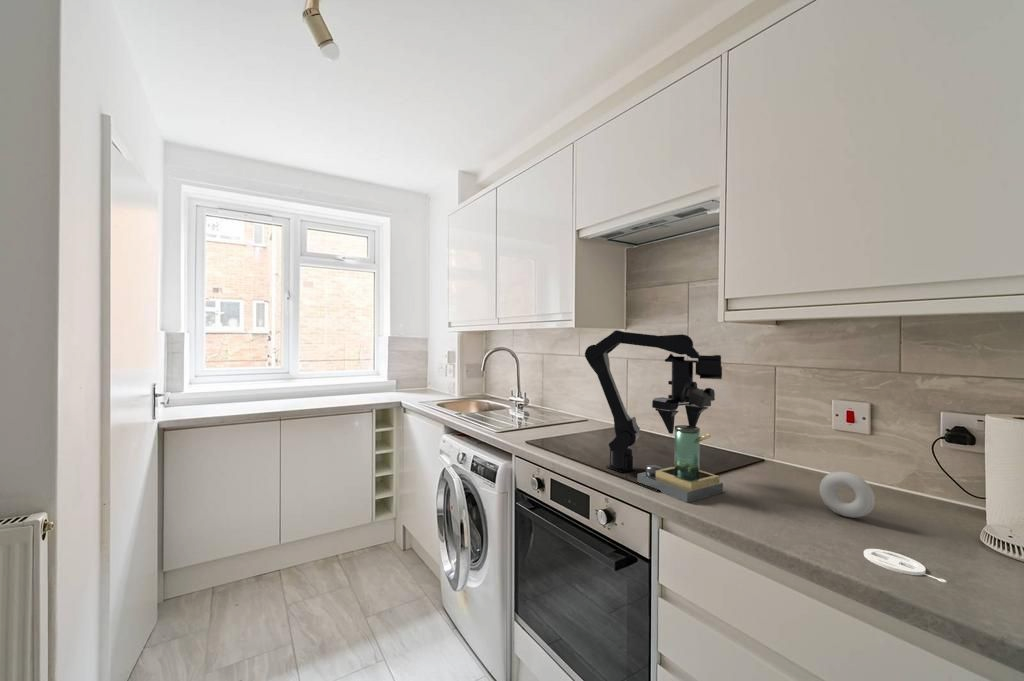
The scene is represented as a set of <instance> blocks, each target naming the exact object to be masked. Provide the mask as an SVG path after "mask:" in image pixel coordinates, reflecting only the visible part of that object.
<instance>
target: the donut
mask: <svg viewBox="0 0 1024 681" xmlns="http://www.w3.org/2000/svg"><path fill="white" fill-rule="evenodd" d="M819 483H820V484H819V488H818V489H819V494H820V498H821V499H822V501H823V503H824V505H826V506H827V508H828V509H830V510H831V511H833V513H836V514H838V515H840V516H842V517H845V518H853V519H855V518H863V517H864V516H867V515H868V514H870V513H871V511H872V510H873V509H874V507H875V502H876V499H875V498H876V497H875V493H874V491H873V489H872V488H871V486H870V485H869V484H868V483H867V482H866V480H864V479H863V478H862V477H860V476H859V475H857V474H855V473H852V472H848V471H840V470H839V471H838V470H837V471H832V472H829V473H828V474H826V475H825V476H824V477H823V478H822V480H821V481H820V482H819ZM840 488H848V489H849V490H851V491H852V492H853V493H854V496H855V497H854V499H853V500H852V501H846V500H844V499H842V498H841V497H840V495H839V493H838V490H839V489H840Z"/></svg>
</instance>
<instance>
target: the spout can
mask: <svg viewBox="0 0 1024 681" xmlns="http://www.w3.org/2000/svg"><path fill="white" fill-rule="evenodd" d="M700 431H701V428H700V427H698V426H696V427H695V426H689V424H688V425H687V424H681V425H680V424H679V425H674V466H673V467H674V476H677V477H680V478H683V479H686V480H688V481H693V480H698V479H699V470H700V443H701V442H702V441H705V440H707V439H710V438H711V437H712V434H710V433H707V434H704V435H700Z"/></svg>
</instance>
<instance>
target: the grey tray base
mask: <svg viewBox="0 0 1024 681" xmlns="http://www.w3.org/2000/svg"><path fill="white" fill-rule="evenodd" d="M674 467H675V466H668V467H664V468H662V467H661V466H659V465H657V464H656V465H655V464H648V465H645V471H644V472H639V473H637V478H636V479H637V481H636V482H639V483H643V484H645V485H648V486H651V487H654V488H657V489H659V490H660V491H661V492H660V493H662V494H665V495H666V496H669V497H672V498H675V499H677V500H679V501H682V502H685V503H692V502H694V501H697V500H702V499H705V498H709V497H712V496H717V495H719V494H723V493H724V483H723V482H721V481H720V476H719V475H717V474H713V473H710V472H707V471H704V470H700V469H699V479H698V480H693V481H688V480H686V479H683V478H680V477H677V476H674ZM639 483H638V484H639Z"/></svg>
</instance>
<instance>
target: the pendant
mask: <svg viewBox="0 0 1024 681" xmlns="http://www.w3.org/2000/svg"><path fill="white" fill-rule="evenodd" d="M863 556H864V558H865V559H866V560H868V561H869V562H870V563H873V564H875V565H876V566H880V567H882V568H884V569H887V570H890V571H892V572H897V573H900V574H904V575H912V576H923V575H925V576H926V577H930V578H932V579H936V580H937V581H939V582H941V583H945V584H946V583H948V581H947V580H946V579H944V578H938V577H935V576H933V575H930V574H927V573H926V572H927V570H926V567H925V566H924V565H923V564H922V563H920V562H919V561H917V560H915V559H913V558H911V557H908V556H905V555H903V554H901V553H897V552H893V551H890V550H885V549H879V548H866V549H864V550H863Z"/></svg>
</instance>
